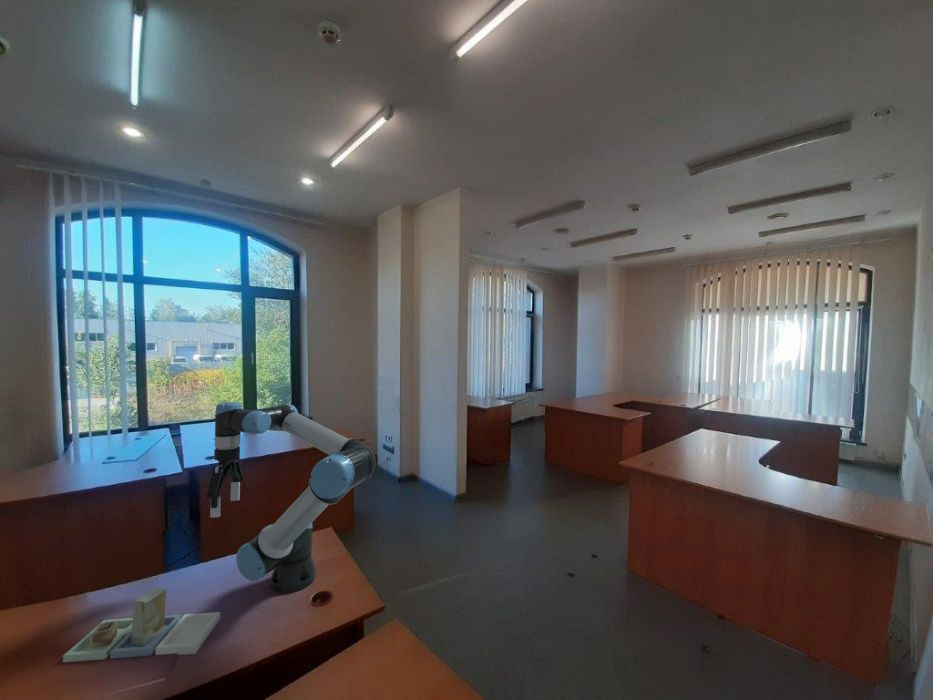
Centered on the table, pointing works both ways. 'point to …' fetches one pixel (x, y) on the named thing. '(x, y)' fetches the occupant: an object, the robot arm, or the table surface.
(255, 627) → the table surface
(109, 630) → the letter cube
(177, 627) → the tray
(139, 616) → the skincare box
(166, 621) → the tray
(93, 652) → the tray
